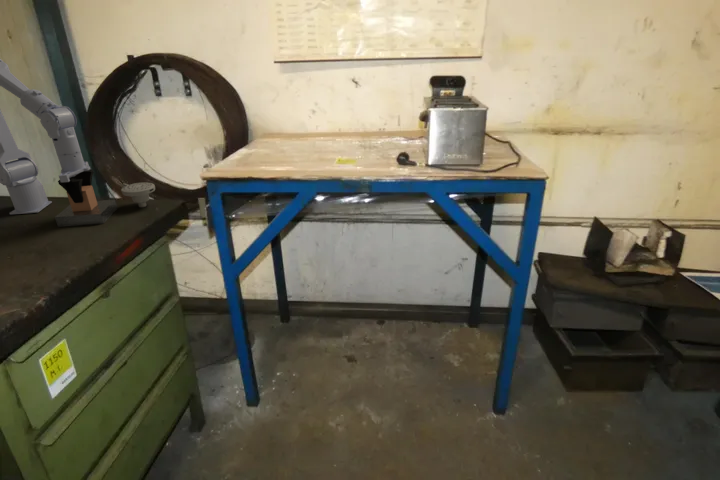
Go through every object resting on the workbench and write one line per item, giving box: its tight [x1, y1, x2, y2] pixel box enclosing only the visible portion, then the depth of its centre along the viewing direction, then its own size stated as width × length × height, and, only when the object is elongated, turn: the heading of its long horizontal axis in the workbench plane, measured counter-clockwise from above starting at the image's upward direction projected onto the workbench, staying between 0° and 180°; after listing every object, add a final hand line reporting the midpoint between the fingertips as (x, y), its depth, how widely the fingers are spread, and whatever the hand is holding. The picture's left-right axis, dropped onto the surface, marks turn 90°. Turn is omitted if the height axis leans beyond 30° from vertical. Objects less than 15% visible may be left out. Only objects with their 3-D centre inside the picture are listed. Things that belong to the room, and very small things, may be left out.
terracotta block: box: [66, 185, 98, 212], centre depth 123 cm, size 5×5×6 cm
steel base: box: [54, 199, 118, 228], centre depth 125 cm, size 12×12×3 cm
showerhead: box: [120, 181, 156, 208], centre depth 133 cm, size 9×7×10 cm
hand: (83, 198), depth 123 cm, fingers open, 6 cm apart
